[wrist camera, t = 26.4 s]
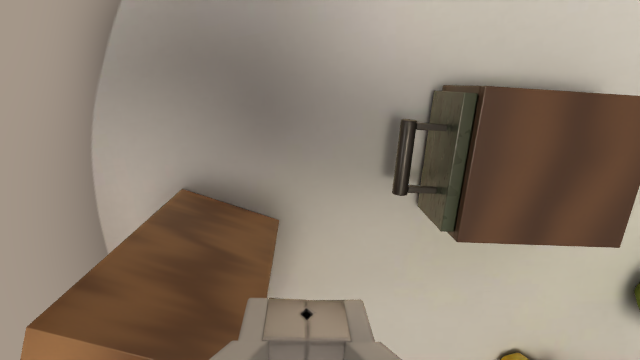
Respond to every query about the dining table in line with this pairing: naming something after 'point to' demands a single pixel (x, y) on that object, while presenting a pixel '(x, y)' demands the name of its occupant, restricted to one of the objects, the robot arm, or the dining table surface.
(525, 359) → the chocolate bunny
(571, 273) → the dining table surface
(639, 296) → the apple
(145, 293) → the stand
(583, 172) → the cabinet
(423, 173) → the drawer
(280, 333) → the robot arm
